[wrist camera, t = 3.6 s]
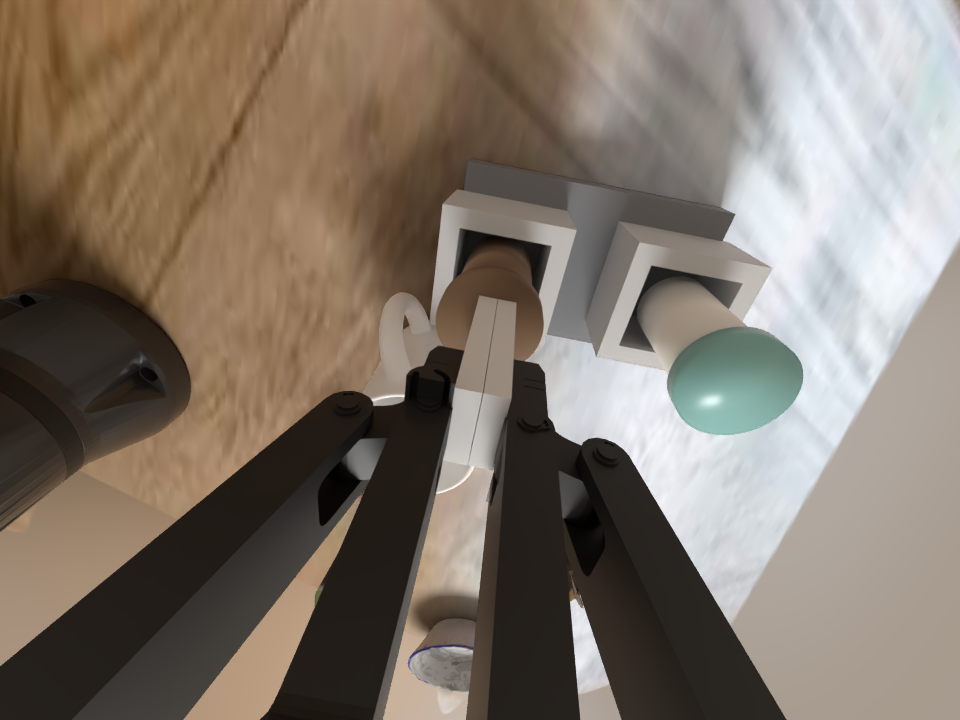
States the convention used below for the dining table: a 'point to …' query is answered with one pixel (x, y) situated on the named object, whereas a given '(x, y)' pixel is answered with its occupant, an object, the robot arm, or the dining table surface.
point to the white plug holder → (594, 251)
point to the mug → (407, 365)
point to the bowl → (446, 655)
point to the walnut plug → (492, 294)
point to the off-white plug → (716, 360)
